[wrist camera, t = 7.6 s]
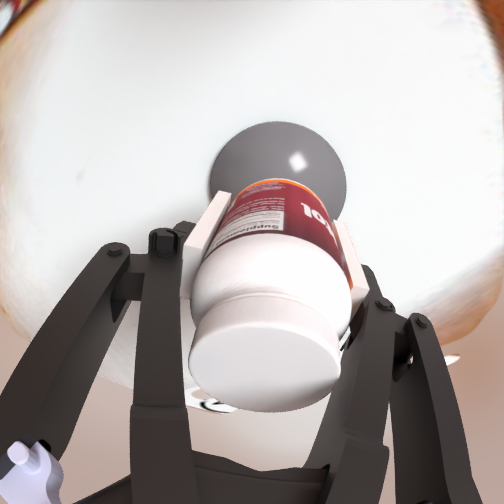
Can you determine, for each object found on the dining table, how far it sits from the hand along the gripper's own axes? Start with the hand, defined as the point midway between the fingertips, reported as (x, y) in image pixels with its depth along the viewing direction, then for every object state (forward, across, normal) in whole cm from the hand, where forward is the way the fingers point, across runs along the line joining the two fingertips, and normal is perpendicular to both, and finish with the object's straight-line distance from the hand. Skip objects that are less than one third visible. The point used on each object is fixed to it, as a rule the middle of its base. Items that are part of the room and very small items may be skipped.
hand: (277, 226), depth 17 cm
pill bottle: (+1, 0, 0) cm, 1 cm away
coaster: (+7, 0, 0) cm, 7 cm away
